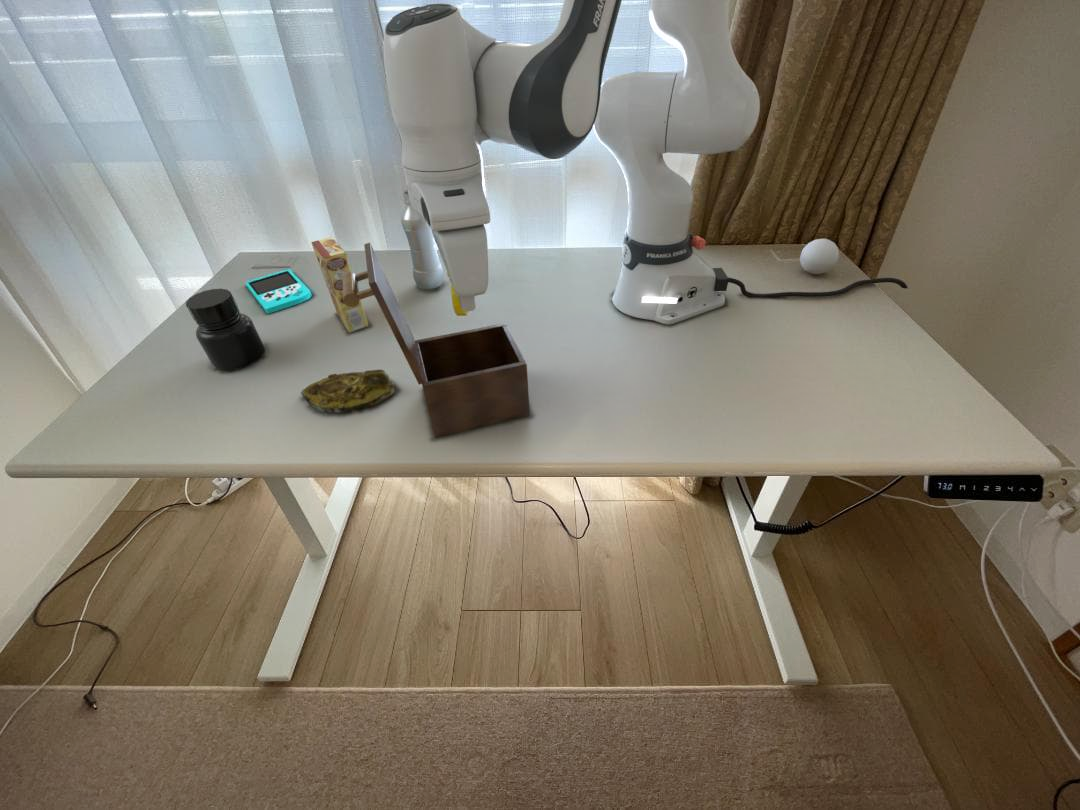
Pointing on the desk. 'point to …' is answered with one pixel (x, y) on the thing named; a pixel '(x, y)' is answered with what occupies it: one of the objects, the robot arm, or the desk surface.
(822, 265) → the white egg
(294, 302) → the handheld game console
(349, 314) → the candy box
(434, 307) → the desk surface
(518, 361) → the chest
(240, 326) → the ink bottle
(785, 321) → the desk surface
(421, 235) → the plastic bottle
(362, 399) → the mossy rock
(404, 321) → the lid
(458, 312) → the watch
